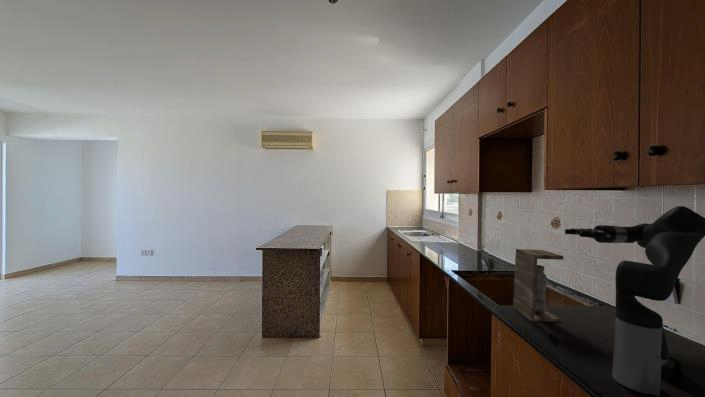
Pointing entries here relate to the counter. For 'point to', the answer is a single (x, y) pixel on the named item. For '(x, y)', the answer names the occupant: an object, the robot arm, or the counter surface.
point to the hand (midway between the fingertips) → (572, 232)
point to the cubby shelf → (529, 283)
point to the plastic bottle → (540, 290)
